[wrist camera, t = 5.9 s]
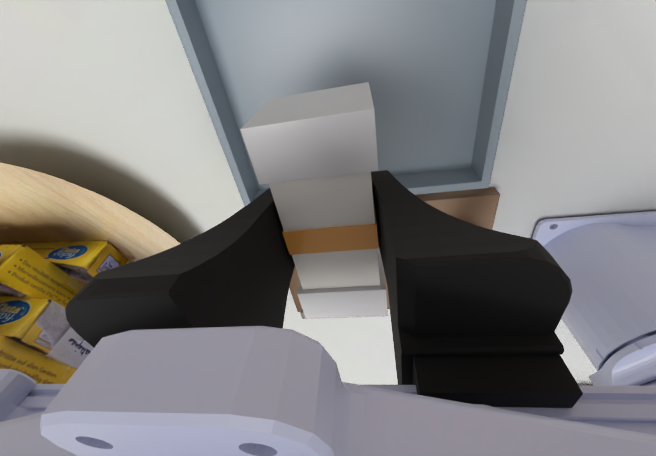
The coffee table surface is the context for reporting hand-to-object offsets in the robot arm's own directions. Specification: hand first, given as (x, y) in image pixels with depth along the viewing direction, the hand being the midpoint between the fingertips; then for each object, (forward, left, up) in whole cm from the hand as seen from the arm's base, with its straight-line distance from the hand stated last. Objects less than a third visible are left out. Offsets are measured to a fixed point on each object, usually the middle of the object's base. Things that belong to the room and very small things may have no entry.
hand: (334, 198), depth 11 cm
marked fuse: (0, 0, -1) cm, 1 cm away
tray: (-1, -2, -9) cm, 9 cm away
